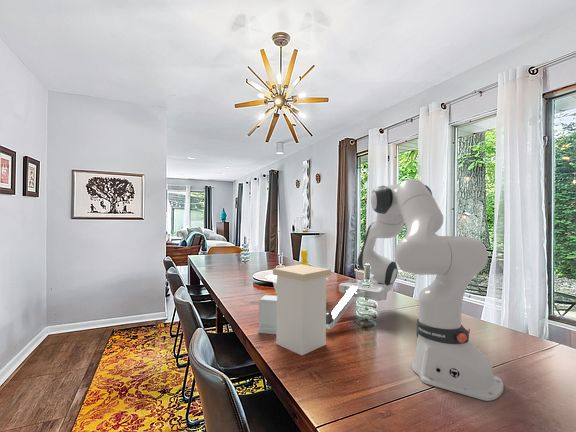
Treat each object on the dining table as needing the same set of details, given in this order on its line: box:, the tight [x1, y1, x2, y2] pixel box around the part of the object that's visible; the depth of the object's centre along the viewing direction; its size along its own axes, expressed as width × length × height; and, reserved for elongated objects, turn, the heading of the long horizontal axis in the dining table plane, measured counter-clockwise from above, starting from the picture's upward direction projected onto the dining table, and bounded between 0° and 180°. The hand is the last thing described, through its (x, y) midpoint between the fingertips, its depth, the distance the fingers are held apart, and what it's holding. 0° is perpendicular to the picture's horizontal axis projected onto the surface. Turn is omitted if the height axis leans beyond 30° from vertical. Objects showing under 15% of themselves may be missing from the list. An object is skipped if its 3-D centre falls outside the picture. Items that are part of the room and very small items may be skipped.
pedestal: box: [272, 263, 332, 356], centre depth 108 cm, size 14×14×26 cm
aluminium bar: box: [326, 286, 360, 331], centre depth 125 cm, size 4×22×6 cm, turn 135°
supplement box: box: [258, 294, 277, 335], centre depth 121 cm, size 7×7×13 cm
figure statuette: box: [300, 249, 310, 266], centre depth 200 cm, size 18×8×22 cm, turn 26°
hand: (351, 293), depth 130 cm, fingers closed on aluminium bar, 3 cm apart
